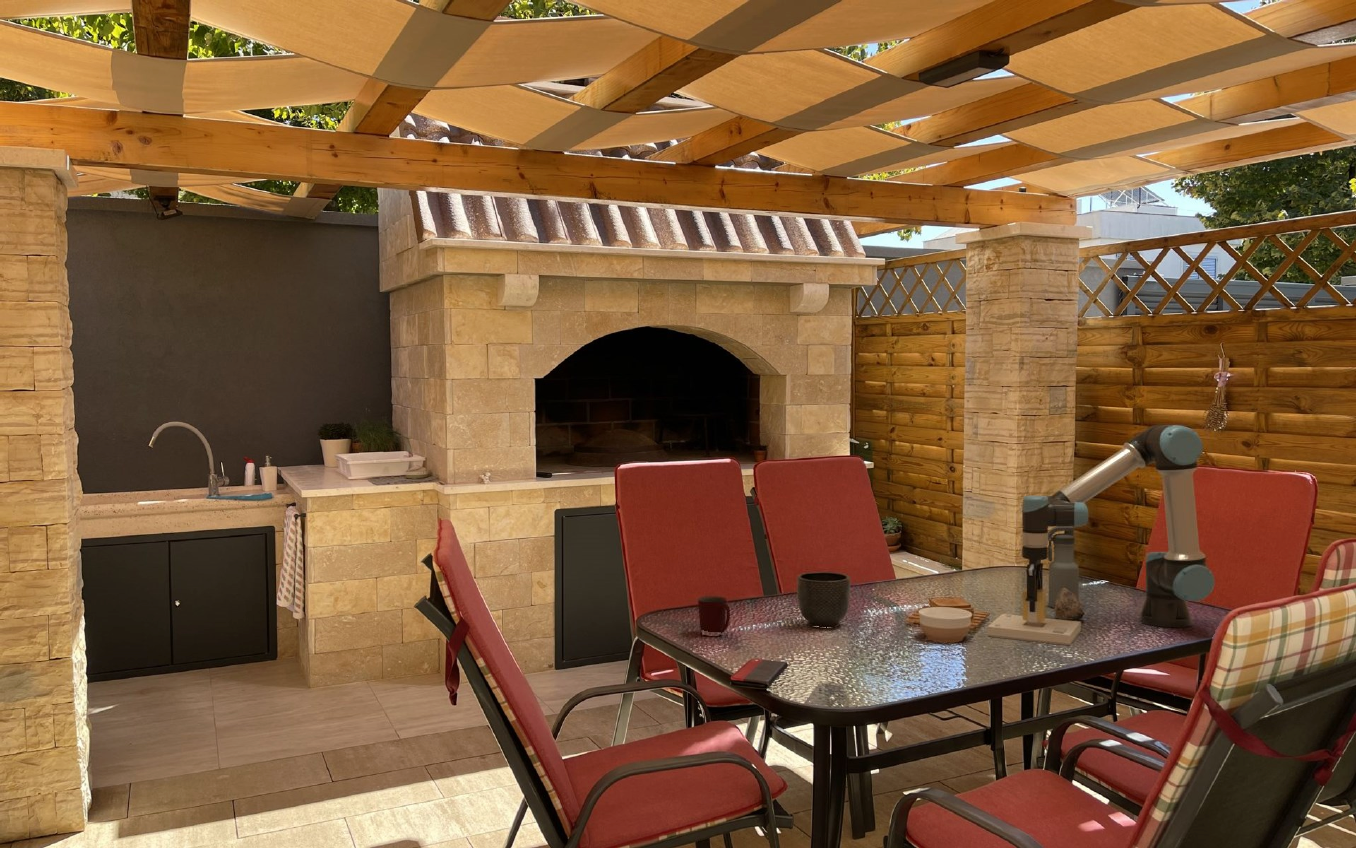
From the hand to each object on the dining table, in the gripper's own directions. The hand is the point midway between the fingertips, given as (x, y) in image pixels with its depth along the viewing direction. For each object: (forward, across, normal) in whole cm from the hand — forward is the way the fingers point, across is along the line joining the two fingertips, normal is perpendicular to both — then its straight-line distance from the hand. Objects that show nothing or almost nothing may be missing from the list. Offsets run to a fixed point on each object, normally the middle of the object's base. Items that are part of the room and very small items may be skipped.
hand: (1034, 620), depth 318 cm
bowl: (+5, +18, -23) cm, 30 cm away
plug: (+3, 0, 0) cm, 3 cm away
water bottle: (+5, -44, +1) cm, 44 cm away
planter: (+5, +20, -62) cm, 65 cm away
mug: (+5, +48, -87) cm, 99 cm away
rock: (+5, -25, +5) cm, 26 cm away
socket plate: (+4, 0, 0) cm, 4 cm away
